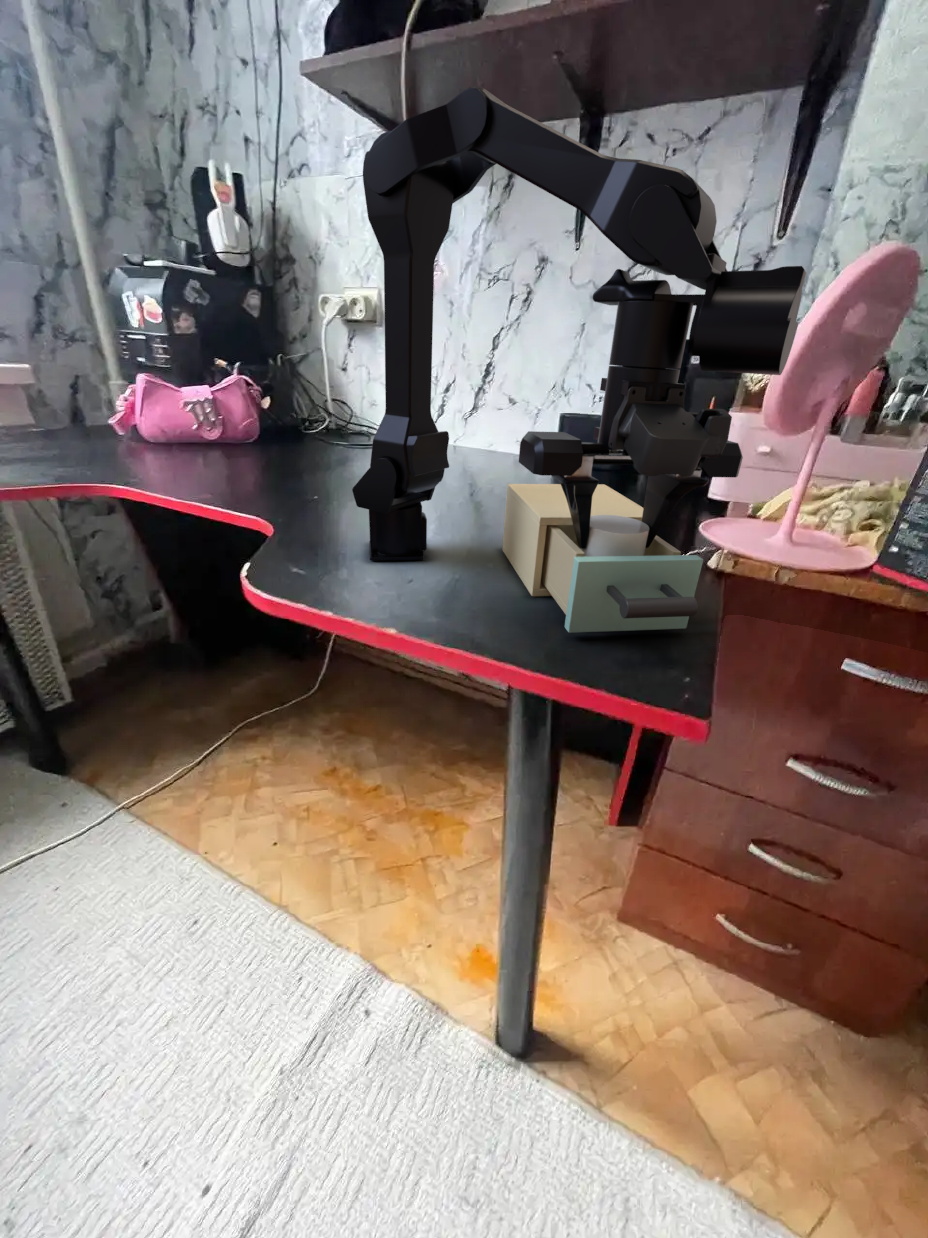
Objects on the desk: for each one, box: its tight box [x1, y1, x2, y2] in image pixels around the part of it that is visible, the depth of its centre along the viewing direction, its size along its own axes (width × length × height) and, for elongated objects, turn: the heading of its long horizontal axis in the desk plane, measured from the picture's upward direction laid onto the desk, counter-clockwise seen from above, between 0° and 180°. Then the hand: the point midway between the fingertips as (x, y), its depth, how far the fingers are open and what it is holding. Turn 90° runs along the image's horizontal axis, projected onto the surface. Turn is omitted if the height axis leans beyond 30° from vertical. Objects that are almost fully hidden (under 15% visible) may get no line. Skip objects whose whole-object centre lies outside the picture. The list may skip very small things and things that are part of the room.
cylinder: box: [580, 515, 649, 557], centre depth 52 cm, size 6×6×4 cm
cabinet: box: [502, 483, 644, 597], centre depth 63 cm, size 15×13×9 cm
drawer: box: [541, 525, 704, 634], centre depth 52 cm, size 18×11×7 cm, turn 9°
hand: (613, 547), depth 52 cm, fingers closed on cylinder, 6 cm apart
